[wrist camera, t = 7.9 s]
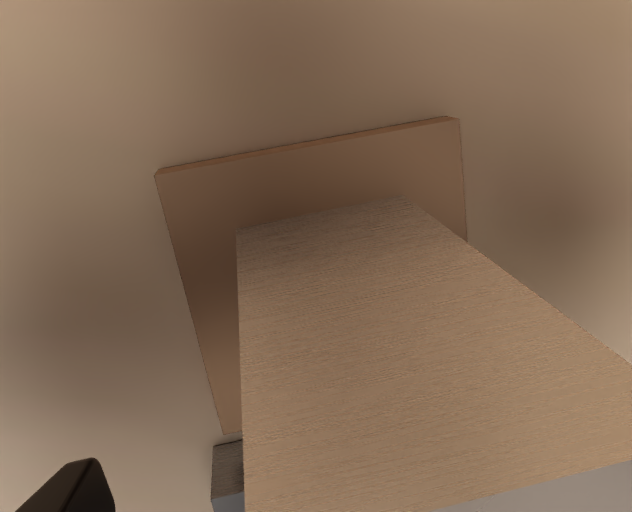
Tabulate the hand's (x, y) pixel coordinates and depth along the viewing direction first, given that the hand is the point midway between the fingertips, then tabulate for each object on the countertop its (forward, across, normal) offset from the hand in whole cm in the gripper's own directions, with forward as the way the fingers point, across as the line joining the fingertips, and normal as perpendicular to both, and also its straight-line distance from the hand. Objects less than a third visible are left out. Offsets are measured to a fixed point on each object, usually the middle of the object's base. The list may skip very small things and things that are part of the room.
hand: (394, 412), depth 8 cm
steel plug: (+5, 0, 0) cm, 5 cm away
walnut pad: (+6, 0, 0) cm, 6 cm away
